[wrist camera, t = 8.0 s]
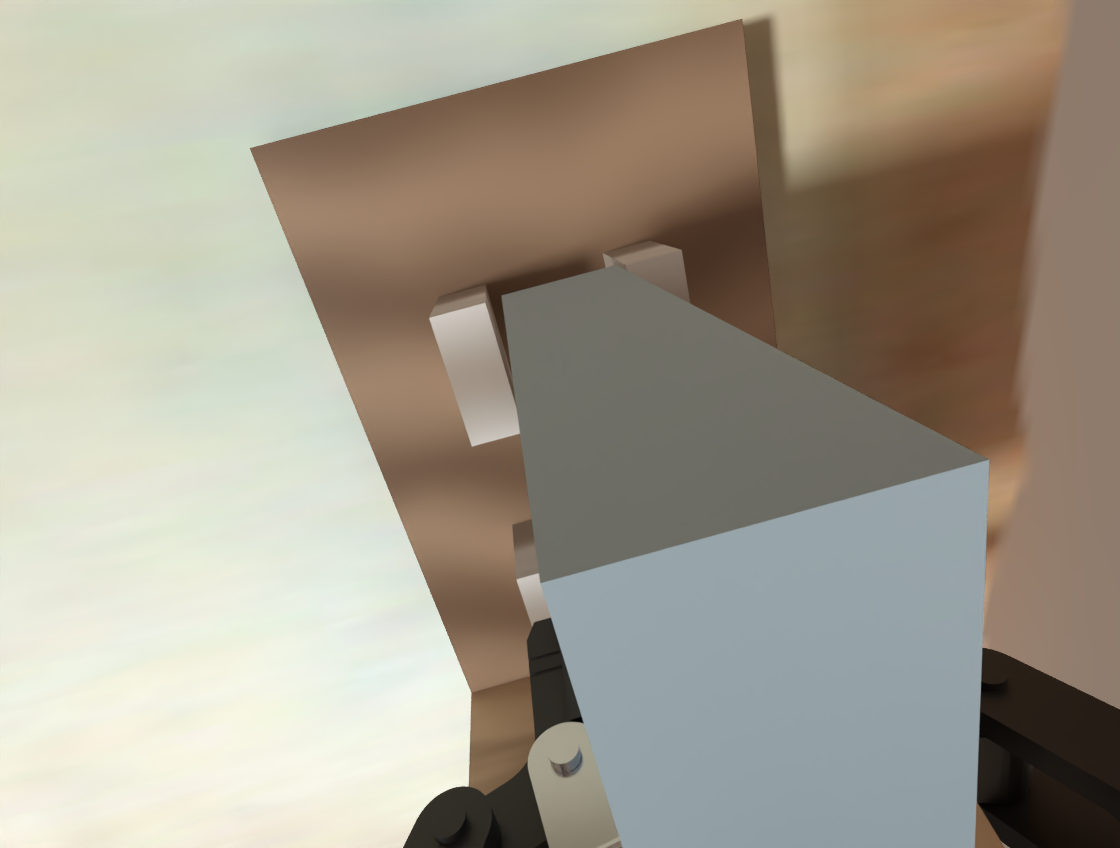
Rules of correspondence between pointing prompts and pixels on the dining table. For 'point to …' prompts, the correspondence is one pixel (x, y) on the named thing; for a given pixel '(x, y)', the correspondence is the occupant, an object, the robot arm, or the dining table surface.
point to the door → (749, 578)
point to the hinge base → (505, 267)
